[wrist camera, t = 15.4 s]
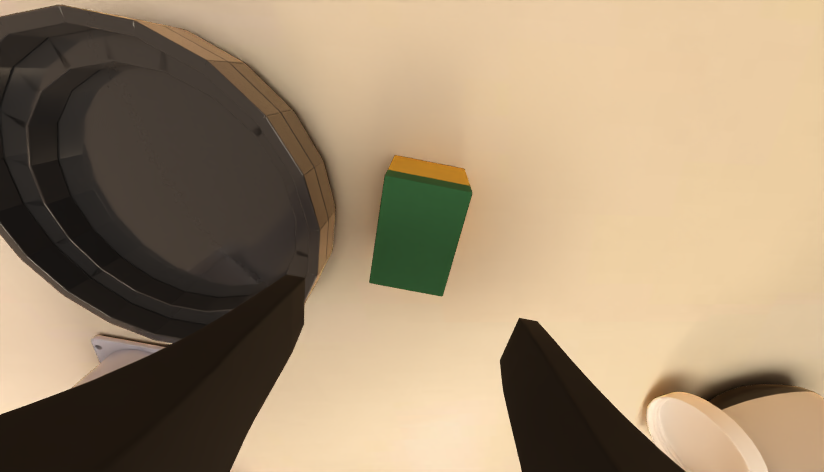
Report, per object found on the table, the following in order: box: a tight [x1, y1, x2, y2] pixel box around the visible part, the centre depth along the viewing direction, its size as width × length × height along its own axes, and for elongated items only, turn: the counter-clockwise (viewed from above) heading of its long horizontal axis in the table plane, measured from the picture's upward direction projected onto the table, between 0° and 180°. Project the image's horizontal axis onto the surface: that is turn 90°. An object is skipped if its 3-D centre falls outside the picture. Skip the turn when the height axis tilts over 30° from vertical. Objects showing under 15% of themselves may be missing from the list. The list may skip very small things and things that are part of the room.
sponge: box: [369, 155, 472, 296], centre depth 17 cm, size 6×4×4 cm, turn 170°
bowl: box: [0, 5, 336, 343], centre depth 18 cm, size 18×18×4 cm
